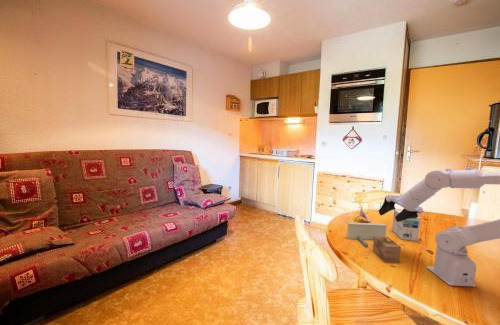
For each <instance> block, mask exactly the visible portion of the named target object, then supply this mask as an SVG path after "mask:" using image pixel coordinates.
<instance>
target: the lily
mask: <svg viewBox="0 0 500 325" xmlns="http://www.w3.org/2000/svg"><path fill="white" fill-rule="evenodd" d="M358 203H359V205H360V206H358V207H359V209H360V212H359V215H358V216H357V217H356V218H355V219H354V220H353V222H355V221H356V220H357V219H359V217H361V218H363V219H365V220H366V221H367V223H370V222H371V221H370V220H371V219H370V218H369V216H368V215H367V214H368V212H364V210H363V207H362V206H361V205H362V204H361V203H360V202H358Z"/></svg>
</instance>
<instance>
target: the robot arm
mask: <svg viewBox="0 0 500 325" xmlns="http://www.w3.org/2000/svg"><path fill="white" fill-rule="evenodd" d="M484 185H500V172H491V173H490V172H489V173H488V172H487V173H485V172H483V171H481V170H479V169H477V168H473V167H464V169H451V168H445V170H444V169H443V170H432V171H430V172H428V173H427V174H426V175H425V177H424V178H423V179H422V180H421V181H419V182H418V183H417V184H414V186H412V187H410V189H408V190H407V191H406V192H404V193H403V194H400V195H395V194H394V195H393V194H392V195H391V194H390V193H389V194H387V195H386V196H384V200H383V203H382V205H381V207H380V208H379V209H378V214H379V216H383V215H386V214H387V213H390V211H394V210H395V209H396V207H395V205H398V206H400V207H402V208H403V209H401V210H402V211H401V212H400V213H399V214H398V215H396V216H395V219H396V221H397V222H399V221H402V220H406V219H410V218H417V217H418V216H419V215H422V214H423V213H425V210H424V208H423V207H422V206H420V205H423V203H425V202H426V201H427V200H429V199H431V198H432V197H433V196H435V195H436V193H438V192H439V191H441V190H442V189H443V188H451V189H480V188H482V187H483V186H484ZM434 238H435V243H436V249H435V250H436V251H435V255H434V256H435V257H434V264H433V266H430V265H429V266H428V265H427V266H426V269H427V270H429V271H430V272H432V273H433V274H434V275H435V276H437V277H438V278H439V279H441V280H442V281H444V282H445V283H447V285H449V286H453V287H473V288H475V287H477V284H475V283H474V282H475V277H476V273H477V265H476V263H475V261H473V259H471V258H470V257H469V256H468V255H469V254H468V249H467V247H468V246H471V245H475V244H478V243H479V244H480V243H482V242H488V241H494V240H499V239H500V219H495V220H491V221H487V222H483V223H479V224H474V225H467V226H457V225H456V226H454V225H453V226H450V227H449V228H447V229H444V230H440V231H438V232H437V233H436V234H435V237H434Z"/></svg>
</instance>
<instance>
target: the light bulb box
mask: <svg viewBox="0 0 500 325" xmlns="http://www.w3.org/2000/svg"><path fill="white" fill-rule="evenodd" d="M402 210H403V209H400V208H395V210H393V217H392V218H393V219H392V226H391V231H392V232H394V234H395V235H396V236H398V238H400V240H403V241H405V240H406V241H414V242H419V233H420V227H421V226H420V225H421V221H422V220H421V219H422V218H421V217H420V215H418V217H417V218H410V219H406V220H402V221H399V222H397V221H396V219H395V216H396V215H398V214H399V213H400V212H401V211H402Z"/></svg>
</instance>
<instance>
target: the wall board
mask: <svg viewBox="0 0 500 325" xmlns="http://www.w3.org/2000/svg"><path fill="white" fill-rule="evenodd" d="M346 224H347V228H346V238H347V240H348V239H349V240H350V239H353V240H357V241H358V242H359V243H360V244H362V245H363V247H364V248H368V247H369V244H368V243H367V242H366V241H365V240H370V241H371V240H372V241H374V236H382V237H387V236H386V235H387V228H388V225H387V224H386V223H373V222H372V223H371V222H369V223H368V222H349V221H348V222H347V223H346Z"/></svg>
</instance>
